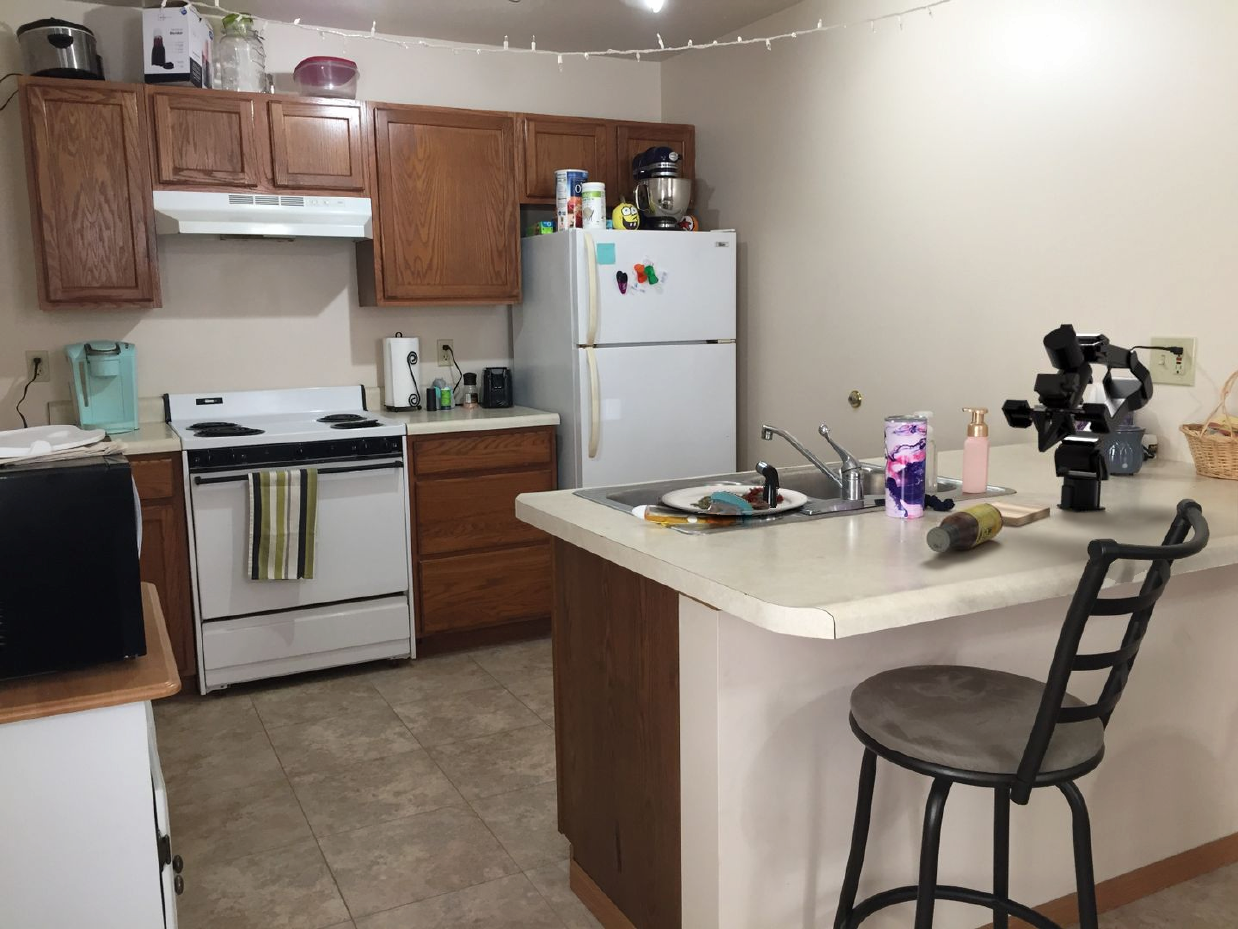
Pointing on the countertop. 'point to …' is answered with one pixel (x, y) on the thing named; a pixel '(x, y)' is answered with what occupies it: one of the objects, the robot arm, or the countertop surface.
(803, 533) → the countertop surface
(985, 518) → the sauce bottle
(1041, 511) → the oak cutting board
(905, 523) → the countertop surface
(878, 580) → the countertop surface
